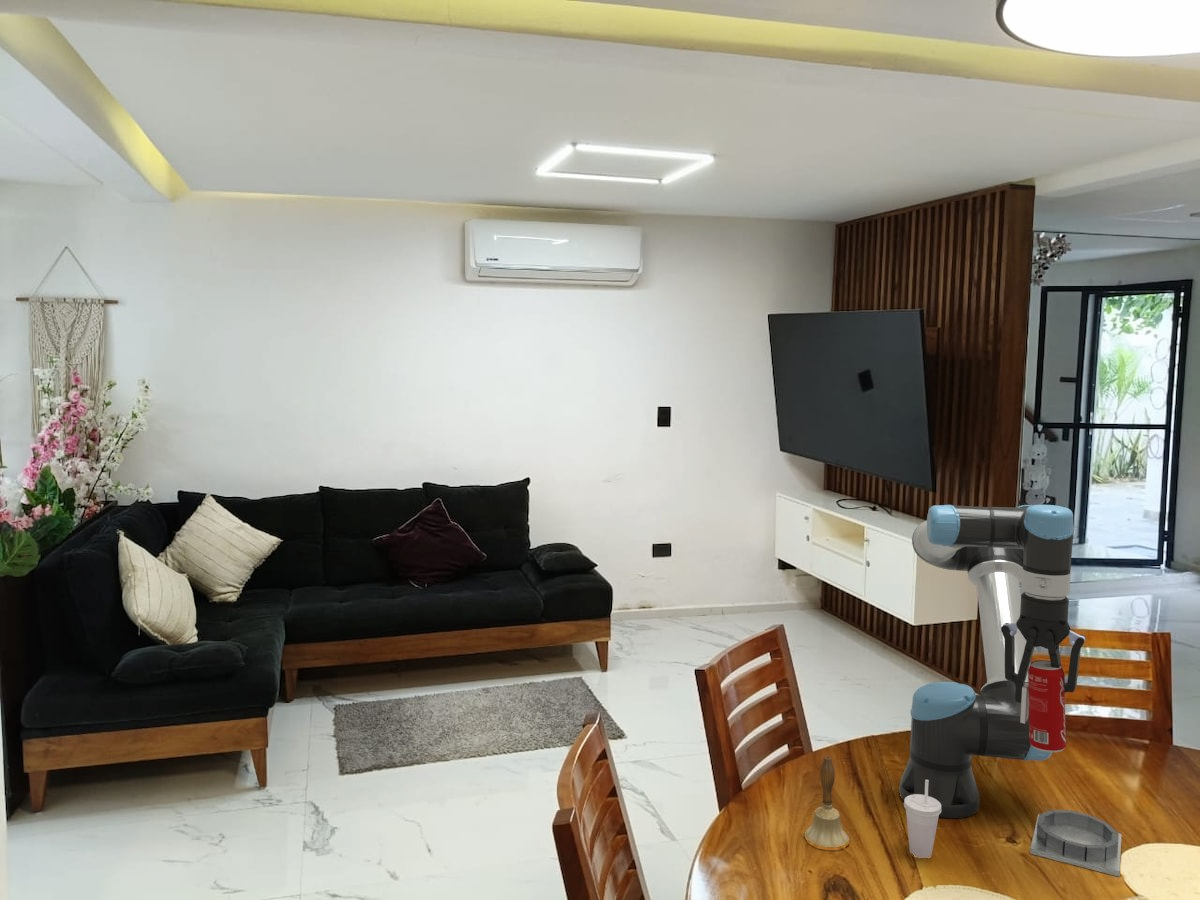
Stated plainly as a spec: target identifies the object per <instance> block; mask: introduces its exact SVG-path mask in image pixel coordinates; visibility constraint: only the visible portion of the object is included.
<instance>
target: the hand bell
mask: <svg viewBox="0 0 1200 900" xmlns="http://www.w3.org/2000/svg"><path fill="white" fill-rule="evenodd" d="M819 771H820V775H819V776H820V778H819V779H820V784H821V788H822V806H818V807H817V808H816V809H815V811H814V815H813V821H812V824H811V825H810V826H809V827H808V828H807V829H806V830H805V831H806V832H805V831H804V833H805V835H806V838H808V840H809V841H811V842H812V843H814V844H816V845H819V846H823V847H839V846H842V845H845V844H846V843H847V842H848V840H850V837H849V835H848V834H847V833H846V831H844V829H843V826H842V823H841V815H840V812H839V810H837V809H836V808H834V807H833V801H832V800H833V799H832V797H833V795H832V794H833V793H832V791H833V787H834V784H835V775H836V773H835V767H834V764H833V759H832V758H831V756H828V755H825V756H824V757H823V760H822V763H821V766H820V769H819Z"/></svg>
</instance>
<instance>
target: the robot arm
mask: <svg viewBox="0 0 1200 900" xmlns="http://www.w3.org/2000/svg"><path fill="white" fill-rule="evenodd" d="M1074 532H1075V526H1074V514H1073V511H1072V510H1071V509H1070V508H1068V507H1065V506H1064V507H1063V506H1061V505H1053V504H1032V505H1031V504H1024V505H1023V504H1022V505H1019V506H1016V507H1008V506H1007V507H1001V506H1000V507H999V506H987V507H986V506H971V505H970V506H967V505H953V504H944V505H943V504H942V505H940V504H939V505H937V504H935V505H932V506H931V507H929V509H928V513H927V516H926V520H925V521H923V522H921V523H920V524H919V525H918V526H917V527H916V528H915V530H914V532H913V534H912V536H911V543H912V544H911V545H912V548H913V550H914V552H915V554H916V555H917V556H918V558H920V560H922V561H924V562H925V563H928V564H929V565H931V566H934V567H936V568H939V569H943V570H948V571H963V572H967V578H968V580H969V582H970V583H972V585H975V586H976V591H977V600H978V611H979V618H980V619H979V620H980V629H981V638H982V646H983V653H984V663H985V672H986V683H985V684H984V685H983V686H982V687H981V688H980V694H976V692H975V690H974V689H973V688H972V687H971V686H969V685H967V684H964V683H959V682H954V681H936V682H931V683H927V684H924V685H922V686H920V687H919V688H917V689H916V690H915V692H914V693H913V695H912V703H911V709H910V717H911V724H910V741H909V742H910V743H909V759H908V761H907V763H906V766H905V768H904V771H903V774H902V775H901V778H900V780H899V789H898V791H899V792H898V794H899V793H900V795H901V797H902V799H903V800H904V799H905V798H906V797H907V796H909V795H913V794H921V795H925V780H929V782H928V796H930V797H932V798H934V799H936V800H938V801H939V802H940V804H941V813H940V814H939V817H938V818H943V819H944V818H945V819H960V818H961V819H962V818H967V817H970V816H973V815H974V814H975V813H977V812H978V811H979V808H980V793H979V789H978V786H977V783H976V779H975V776H974V773H973V768H972V760H973V759H972V758H973V756H978V757H979V756H981V757H991V758H998V759H999V758H1001V759H1008V760H1010V759H1011V760H1019V761H1024V762H1027V761H1035V762H1036V761H1037V762H1038V761H1039V762H1040V761H1045V760H1048V759H1049V758H1051V756H1052V755H1053V752H1044V751H1040V750H1037V749H1035V748H1033V747H1032V746H1031V745H1030V743H1029V693H1028V669H1029V667H1030V663H1031V662H1032V657H1033V656H1034V655H1033V654H1034V649H1035V648H1037V647H1038V648H1040V647H1041V648H1043V649H1046V650H1047V651H1048V652H1047V653H1048V655H1049V661H1050V662H1051V667H1054V668H1059V667H1060V666H1061V665H1062V661H1061V654H1060V644H1061V643H1062V642H1063V641H1064V640H1066V638H1068V640H1069V645H1070V646H1072V647H1071V648H1070V649H1071V650H1070V657H1069V665H1068V674H1067V681H1066V682H1065V685H1064V693H1065V694H1066V693H1073V692H1075V689H1076V687H1077V684H1078V677H1079V676H1078V675H1079V668H1080V659H1081V652H1082V651H1081V649H1082V647H1083V645H1084V644H1085V643H1086V639H1087V637H1086V635H1084V634H1078V633H1077V632H1074V630H1071V629H1072V628H1071V627H1070V626H1071V625H1069V609H1070V606H1069V605H1070V599H1069V598H1068V596H1069V595H1070V587H1071V576H1072V575H1071V568H1072V567H1071V566H1072V551H1073V541H1074ZM1020 583H1021V588H1020ZM1021 591H1023V593H1021ZM1061 694H1062V691H1061ZM900 795H899V796H900ZM902 799H901V800H902ZM903 800H902V801H903Z"/></svg>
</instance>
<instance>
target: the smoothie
mask: <svg viewBox="0 0 1200 900" xmlns="http://www.w3.org/2000/svg"><path fill="white" fill-rule="evenodd" d="M928 782H929V780H925V795H921V794H913V795H909V796H907V797H906V798H905V799H904V802H903V807H904V809H905V813H906V815H905V816H906V823H907V833H908V846H909V853H910V852H911V853H912V854H913V855H915V856H917V857H920V858H927V857H930V856H931V857H932V855H933V849H934V843H935V838H936V834H937V833H936V832H937V827H938V822H939V818H940V817H939V814H940V813H941V804H940V802H939V801H938V800H936V799H934V798H932V797H930V796H928ZM911 853H910V854H911ZM913 855H912V856H913ZM931 857H930V858H931ZM920 858H919V859H920Z"/></svg>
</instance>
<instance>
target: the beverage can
mask: <svg viewBox="0 0 1200 900" xmlns="http://www.w3.org/2000/svg"><path fill="white" fill-rule="evenodd" d="M1065 681H1066V679H1065V671H1064V669H1063V665H1062V664H1061V666H1060V667H1059V668H1054V667H1051V662H1050V660H1047V659H1046V660H1045V659H1044V660H1043V659H1038V660H1033V661H1032V660H1031V663H1030V667H1029V669H1028V693H1029V743H1030V745H1031V746H1032V747H1033V748H1035V749H1037V750H1040V751H1044V752H1052V753H1059V752H1062V751H1064V750H1065V749H1066V745H1067V741H1066V738H1067V737H1066V736H1067V735H1066V692H1065V693H1064V685H1065V683H1066V682H1065ZM1061 691H1062V694H1061Z"/></svg>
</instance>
